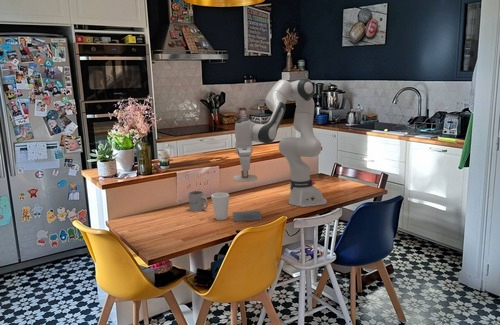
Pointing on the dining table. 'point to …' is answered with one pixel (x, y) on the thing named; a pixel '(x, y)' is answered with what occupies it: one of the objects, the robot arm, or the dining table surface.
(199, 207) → the mug
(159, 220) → the dining table surface
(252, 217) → the mat
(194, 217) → the dining table surface
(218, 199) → the foam cup
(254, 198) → the dining table surface
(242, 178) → the lid
